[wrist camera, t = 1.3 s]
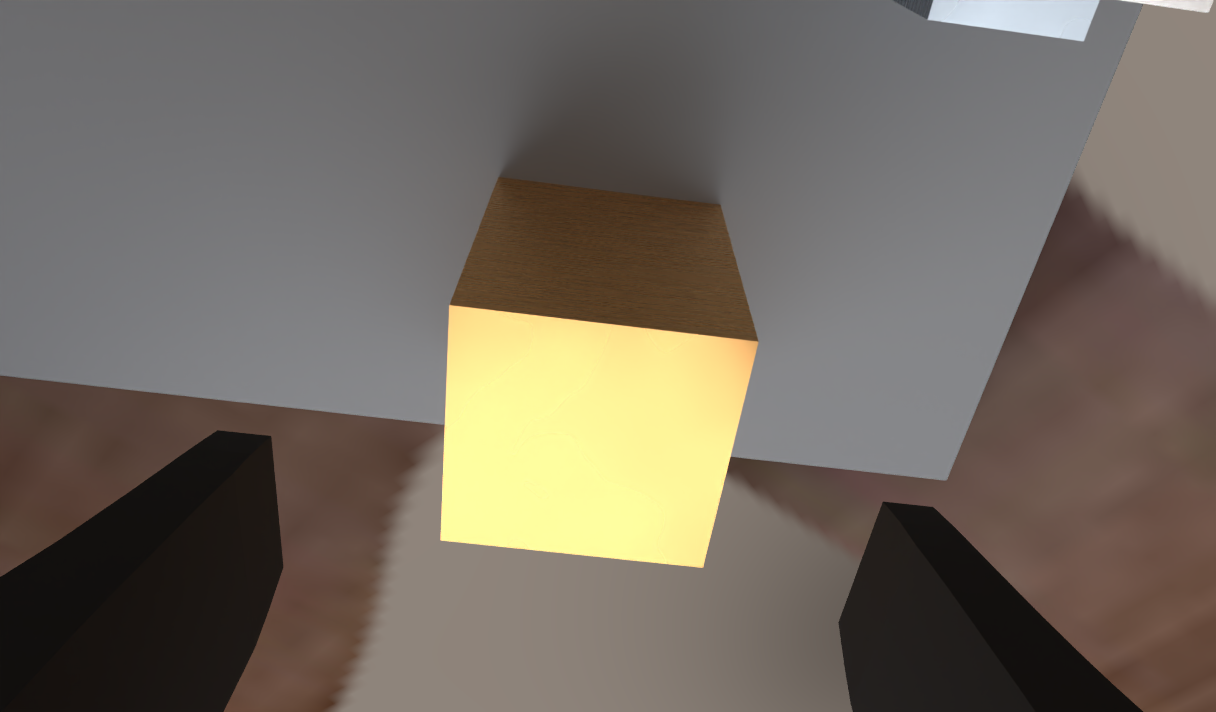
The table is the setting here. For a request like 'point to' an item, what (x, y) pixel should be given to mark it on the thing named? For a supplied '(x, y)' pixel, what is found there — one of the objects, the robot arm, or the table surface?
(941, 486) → the table surface
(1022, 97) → the base board
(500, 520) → the brown square block
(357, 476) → the table surface
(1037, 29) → the shaft rig
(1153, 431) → the table surface
